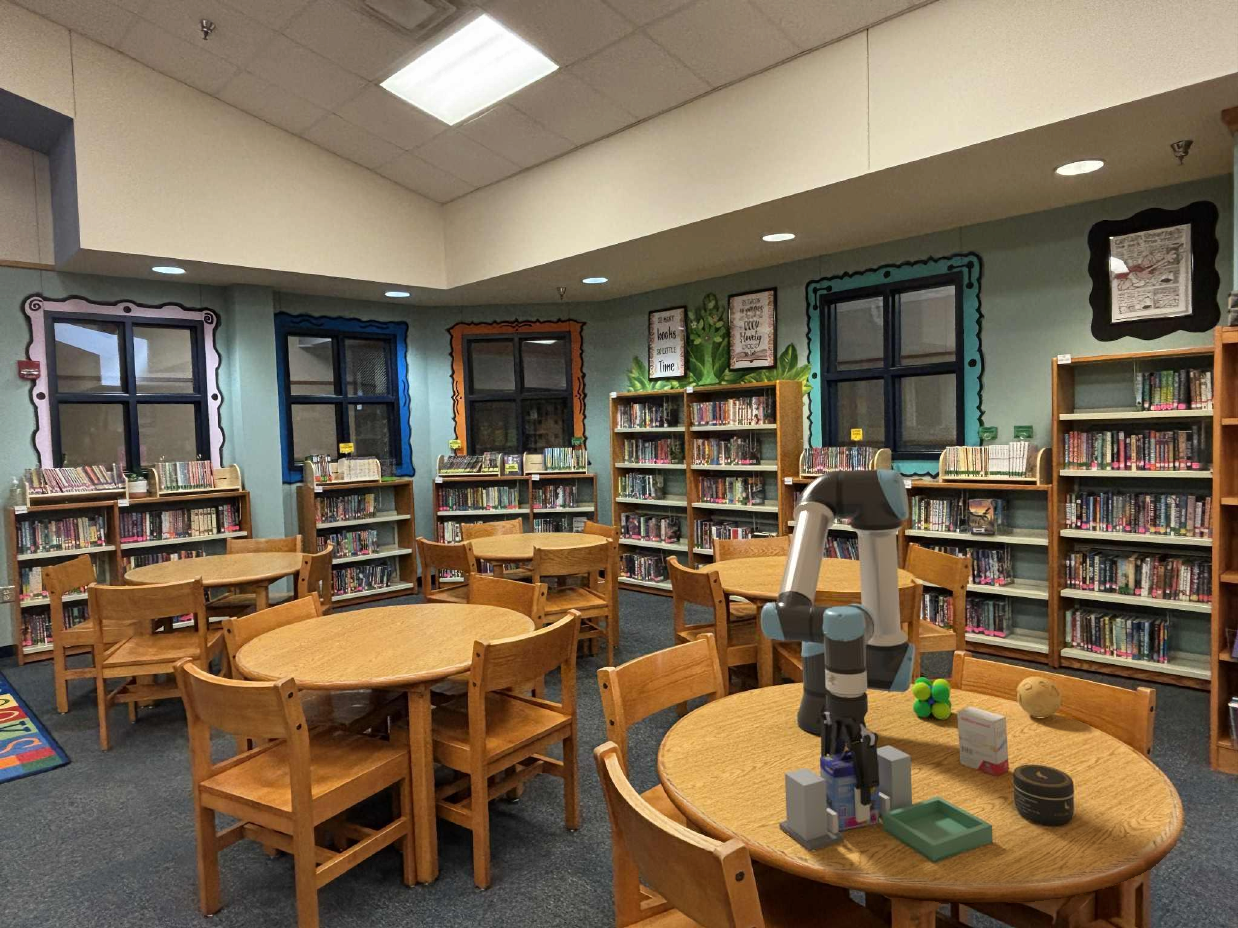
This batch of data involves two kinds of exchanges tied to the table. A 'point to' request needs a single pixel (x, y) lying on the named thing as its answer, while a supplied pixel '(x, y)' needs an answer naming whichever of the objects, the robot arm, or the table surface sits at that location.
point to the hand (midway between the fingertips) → (850, 811)
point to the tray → (937, 828)
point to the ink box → (983, 740)
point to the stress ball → (1038, 696)
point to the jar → (1043, 795)
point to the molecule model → (932, 698)
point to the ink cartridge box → (845, 790)
